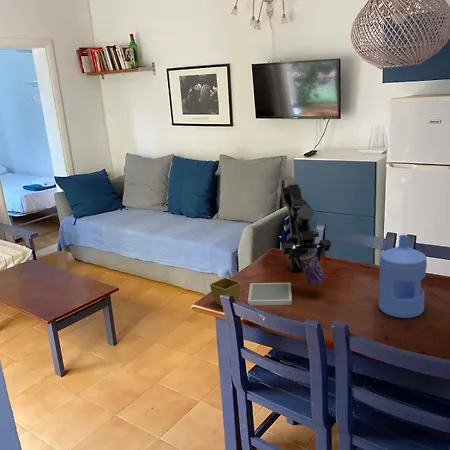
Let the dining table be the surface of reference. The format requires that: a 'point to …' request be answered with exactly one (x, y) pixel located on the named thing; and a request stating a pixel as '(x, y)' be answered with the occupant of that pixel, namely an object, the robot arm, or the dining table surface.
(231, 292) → the flower pot
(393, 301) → the water jug
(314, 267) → the beverage can
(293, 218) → the robot arm
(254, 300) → the tray
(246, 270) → the dining table surface
